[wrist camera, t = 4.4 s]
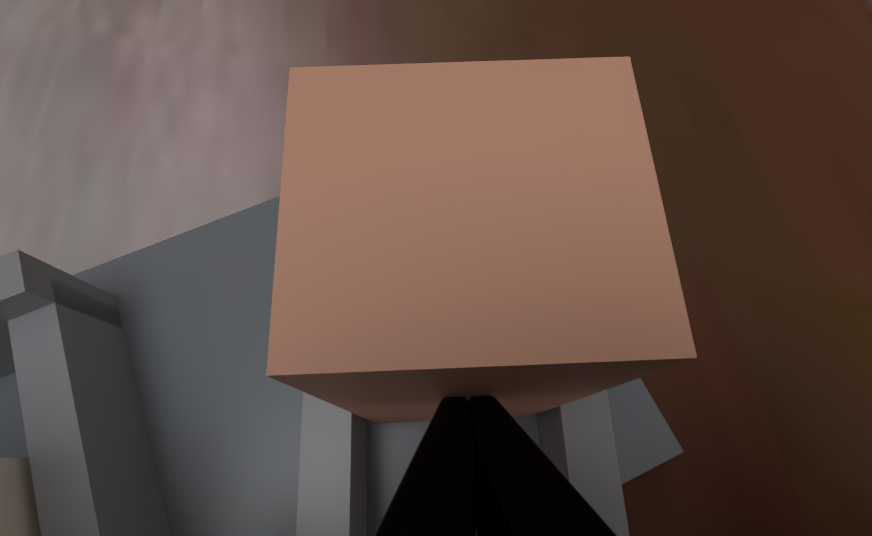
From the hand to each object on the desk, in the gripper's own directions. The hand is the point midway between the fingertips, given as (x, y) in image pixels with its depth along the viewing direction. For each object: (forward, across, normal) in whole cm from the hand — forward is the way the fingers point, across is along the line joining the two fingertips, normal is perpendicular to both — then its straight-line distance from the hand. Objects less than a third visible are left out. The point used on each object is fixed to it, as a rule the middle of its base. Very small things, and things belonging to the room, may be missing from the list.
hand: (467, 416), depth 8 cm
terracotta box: (+7, 0, +4) cm, 8 cm away
